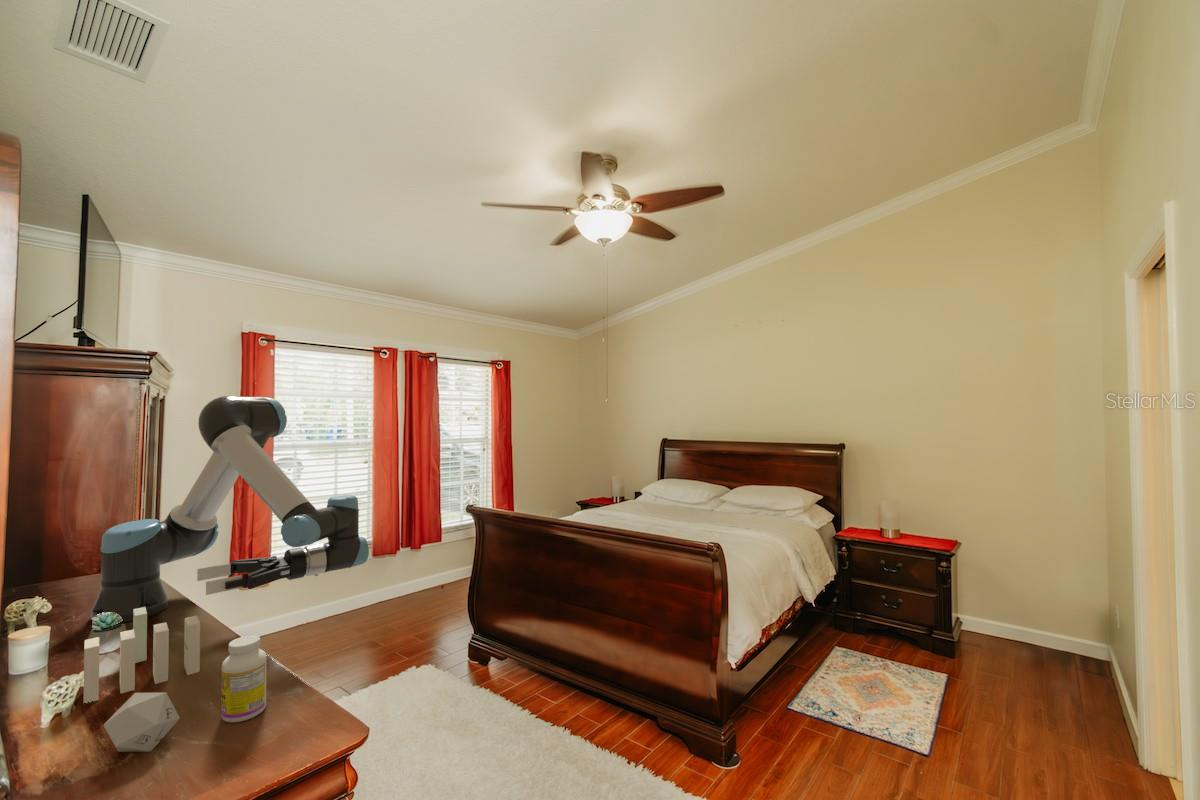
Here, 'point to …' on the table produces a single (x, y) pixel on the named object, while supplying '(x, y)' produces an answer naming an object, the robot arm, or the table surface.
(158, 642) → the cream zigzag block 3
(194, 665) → the domino
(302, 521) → the robot arm
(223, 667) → the supplement bottle
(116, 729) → the die
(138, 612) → the domino
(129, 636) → the domino
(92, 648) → the domino
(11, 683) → the table surface
